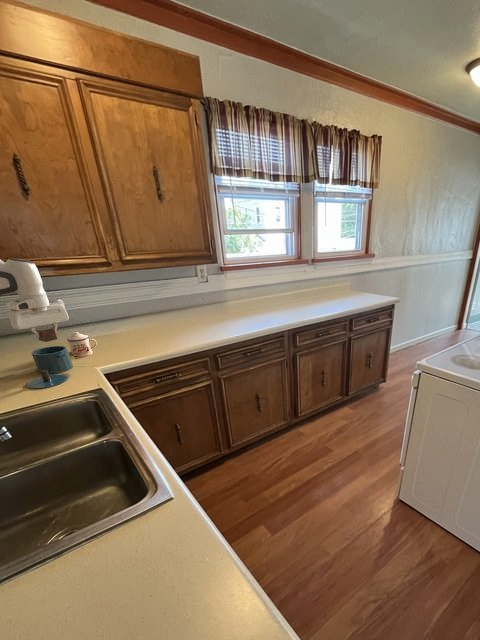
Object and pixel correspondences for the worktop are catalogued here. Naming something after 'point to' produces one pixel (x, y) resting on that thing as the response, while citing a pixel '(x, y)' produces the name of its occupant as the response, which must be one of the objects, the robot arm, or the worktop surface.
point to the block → (47, 334)
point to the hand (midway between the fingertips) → (46, 335)
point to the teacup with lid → (80, 345)
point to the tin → (52, 359)
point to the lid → (46, 380)
